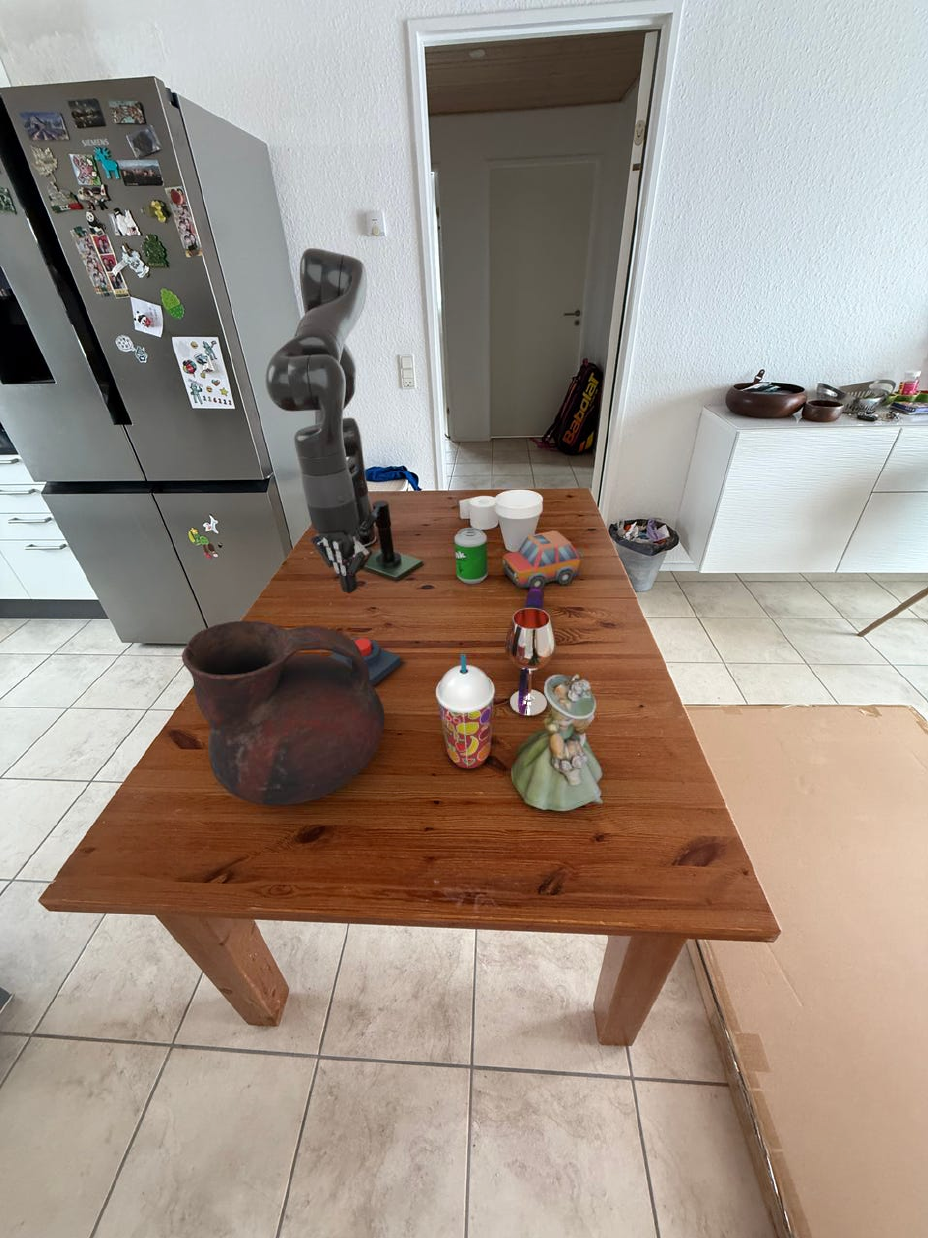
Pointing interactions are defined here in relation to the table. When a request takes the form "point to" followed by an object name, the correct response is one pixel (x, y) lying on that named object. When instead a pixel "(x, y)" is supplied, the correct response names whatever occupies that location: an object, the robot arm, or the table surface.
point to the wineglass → (530, 654)
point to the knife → (536, 601)
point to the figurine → (560, 751)
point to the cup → (518, 516)
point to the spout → (376, 520)
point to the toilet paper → (479, 512)
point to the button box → (375, 662)
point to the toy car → (542, 561)
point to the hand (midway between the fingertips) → (349, 590)
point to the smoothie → (466, 713)
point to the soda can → (471, 555)
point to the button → (364, 646)
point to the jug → (283, 710)
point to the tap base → (390, 559)
